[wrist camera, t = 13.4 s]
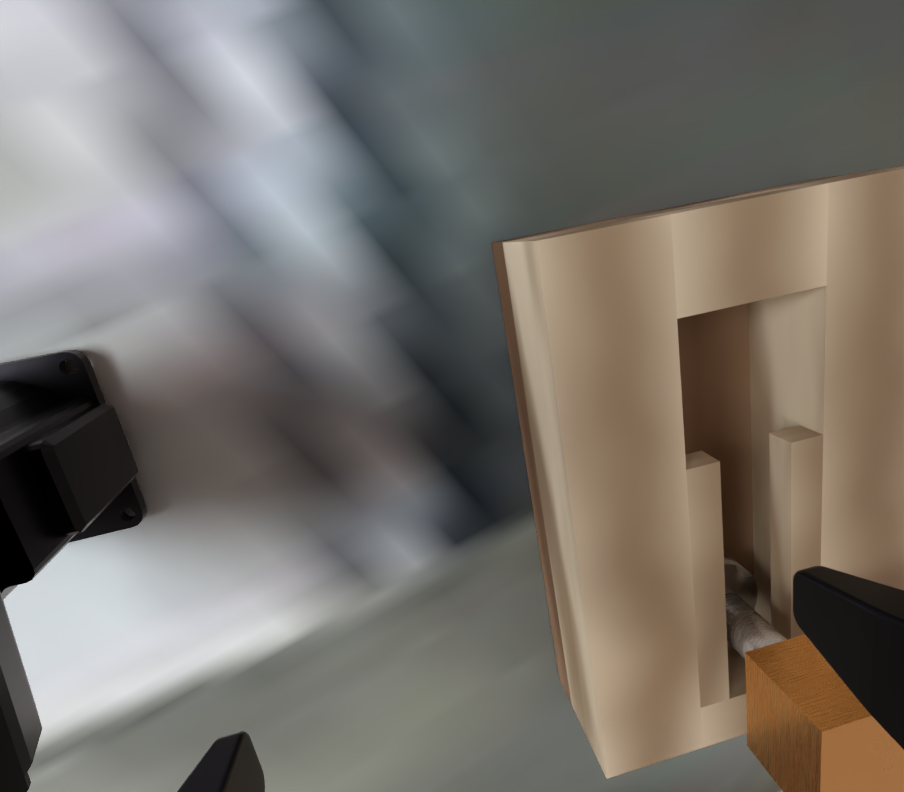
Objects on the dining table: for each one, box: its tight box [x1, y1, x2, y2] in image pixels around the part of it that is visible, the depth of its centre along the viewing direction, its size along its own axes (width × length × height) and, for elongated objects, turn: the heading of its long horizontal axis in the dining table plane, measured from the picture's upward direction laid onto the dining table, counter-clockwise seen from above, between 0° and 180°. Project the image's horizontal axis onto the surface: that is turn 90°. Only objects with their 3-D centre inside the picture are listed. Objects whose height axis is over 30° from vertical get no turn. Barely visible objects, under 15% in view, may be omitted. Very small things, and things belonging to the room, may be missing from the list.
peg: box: [724, 552, 904, 792], centre depth 19 cm, size 4×4×8 cm
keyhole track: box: [492, 166, 904, 779], centre depth 21 cm, size 13×20×5 cm, turn 10°
